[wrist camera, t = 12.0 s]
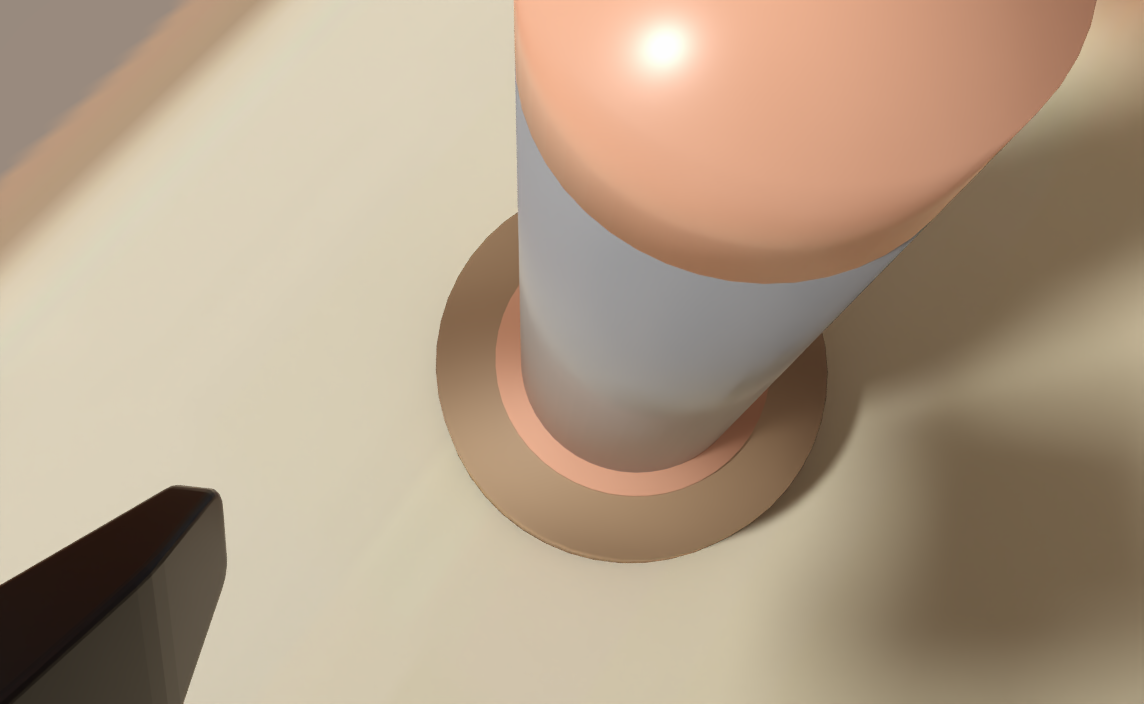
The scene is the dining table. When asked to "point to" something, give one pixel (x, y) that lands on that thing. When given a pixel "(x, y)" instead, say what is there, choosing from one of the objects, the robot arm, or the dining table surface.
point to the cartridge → (738, 187)
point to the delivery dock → (586, 491)
